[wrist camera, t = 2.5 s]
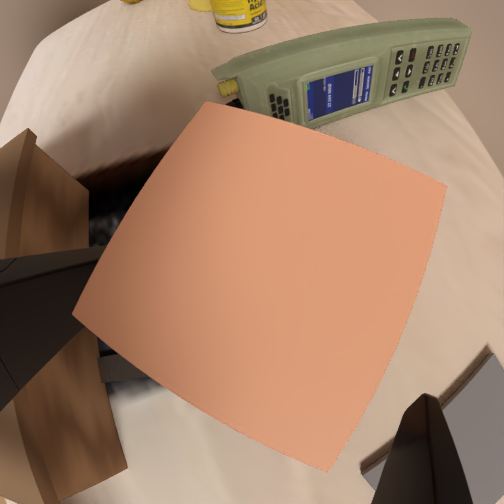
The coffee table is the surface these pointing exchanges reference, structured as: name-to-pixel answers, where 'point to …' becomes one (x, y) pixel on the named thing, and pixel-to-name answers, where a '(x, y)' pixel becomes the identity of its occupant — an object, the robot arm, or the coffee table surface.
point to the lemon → (131, 1)
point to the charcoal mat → (473, 432)
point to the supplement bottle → (239, 14)
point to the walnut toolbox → (66, 360)
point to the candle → (200, 5)
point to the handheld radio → (346, 70)
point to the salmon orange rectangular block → (267, 276)
